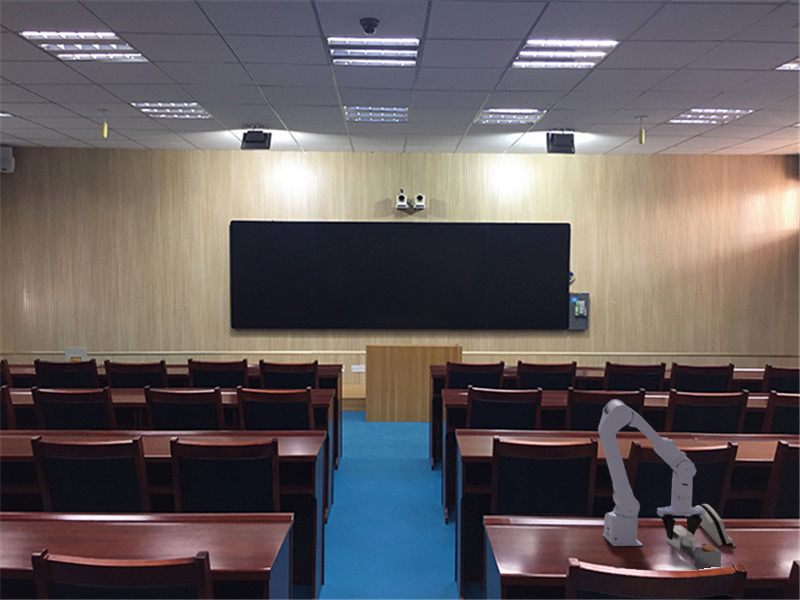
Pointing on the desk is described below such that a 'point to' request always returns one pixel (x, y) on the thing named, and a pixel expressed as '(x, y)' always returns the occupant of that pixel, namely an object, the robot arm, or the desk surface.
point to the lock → (682, 539)
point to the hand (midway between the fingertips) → (679, 538)
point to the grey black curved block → (714, 525)
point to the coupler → (706, 556)
